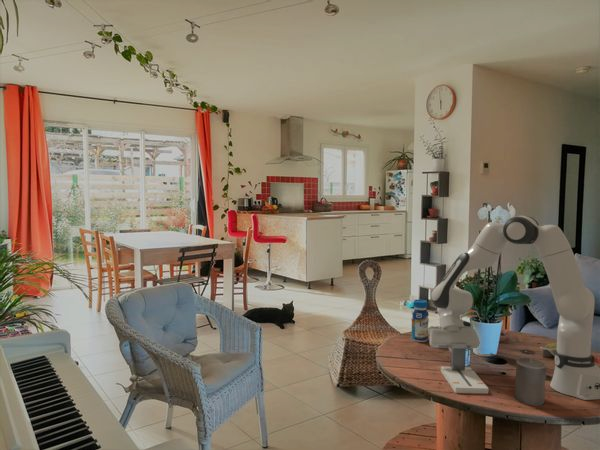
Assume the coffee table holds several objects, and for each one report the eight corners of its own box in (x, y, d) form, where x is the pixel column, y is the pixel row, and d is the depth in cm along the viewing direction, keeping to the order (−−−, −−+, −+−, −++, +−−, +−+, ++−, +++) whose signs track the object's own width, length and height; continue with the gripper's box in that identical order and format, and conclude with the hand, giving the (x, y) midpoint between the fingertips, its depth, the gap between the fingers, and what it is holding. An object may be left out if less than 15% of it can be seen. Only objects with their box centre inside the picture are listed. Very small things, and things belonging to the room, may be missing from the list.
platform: (578, 360, 207) (579, 346, 207) (545, 364, 203) (545, 349, 202) (557, 351, 219) (557, 338, 218) (525, 355, 214) (525, 341, 214)
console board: (470, 371, 193) (470, 366, 193) (488, 393, 172) (488, 388, 172) (440, 371, 193) (440, 366, 193) (455, 392, 172) (455, 387, 172)
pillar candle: (509, 394, 171) (510, 354, 170) (534, 393, 172) (536, 354, 171) (523, 406, 162) (525, 365, 160) (550, 405, 162) (552, 364, 161)
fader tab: (464, 368, 190) (465, 342, 189) (465, 370, 188) (466, 344, 187) (450, 368, 190) (451, 342, 190) (451, 369, 188) (452, 343, 188)
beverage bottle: (417, 336, 240) (418, 298, 239) (431, 340, 234) (432, 301, 233) (407, 339, 235) (408, 300, 234) (421, 343, 229) (422, 303, 227)
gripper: (428, 322, 198) (433, 352, 189) (476, 323, 197) (484, 353, 188) (425, 329, 203) (430, 359, 194) (472, 330, 202) (479, 360, 193)
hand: (457, 356), depth 191 cm, fingers closed
